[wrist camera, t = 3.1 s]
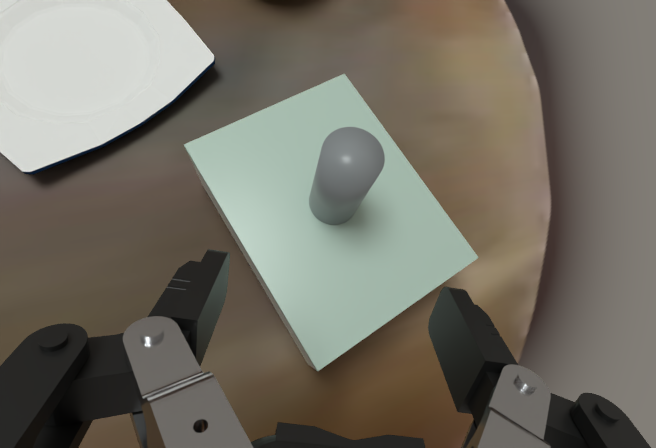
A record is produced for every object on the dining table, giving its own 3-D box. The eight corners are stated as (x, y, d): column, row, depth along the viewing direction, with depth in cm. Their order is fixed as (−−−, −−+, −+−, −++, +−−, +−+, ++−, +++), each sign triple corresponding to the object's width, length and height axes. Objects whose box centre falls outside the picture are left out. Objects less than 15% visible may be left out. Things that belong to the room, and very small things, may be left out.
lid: (190, 158, 28) (152, 77, 19) (340, 89, 31) (364, -3, 23) (314, 368, 24) (336, 384, 16) (464, 263, 28) (547, 230, 20)
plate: (110, -46, 39) (99, -72, 37) (234, 79, 36) (231, 60, 34) (-91, 44, 33) (-121, 19, 30) (41, 202, 30) (20, 190, 28)
